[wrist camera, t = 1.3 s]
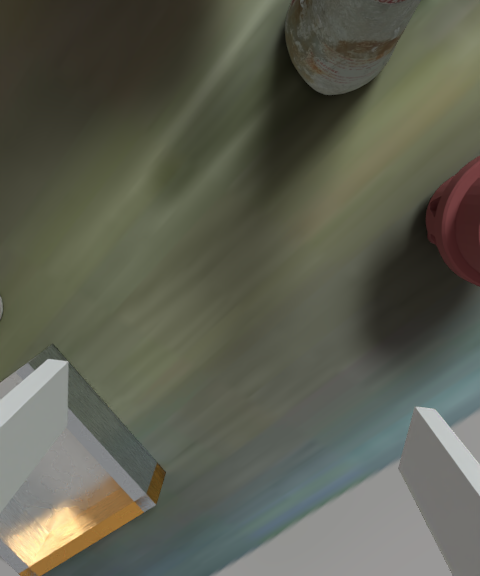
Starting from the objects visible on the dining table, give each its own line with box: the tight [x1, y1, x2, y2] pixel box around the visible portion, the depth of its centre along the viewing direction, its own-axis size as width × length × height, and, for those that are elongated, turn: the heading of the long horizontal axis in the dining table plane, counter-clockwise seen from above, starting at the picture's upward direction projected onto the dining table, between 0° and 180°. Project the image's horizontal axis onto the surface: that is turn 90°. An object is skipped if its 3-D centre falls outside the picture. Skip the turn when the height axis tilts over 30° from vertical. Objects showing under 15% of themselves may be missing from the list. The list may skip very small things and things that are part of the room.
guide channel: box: [0, 344, 166, 576], centre depth 40 cm, size 18×17×4 cm
